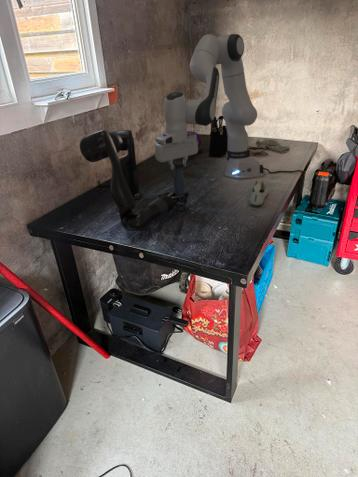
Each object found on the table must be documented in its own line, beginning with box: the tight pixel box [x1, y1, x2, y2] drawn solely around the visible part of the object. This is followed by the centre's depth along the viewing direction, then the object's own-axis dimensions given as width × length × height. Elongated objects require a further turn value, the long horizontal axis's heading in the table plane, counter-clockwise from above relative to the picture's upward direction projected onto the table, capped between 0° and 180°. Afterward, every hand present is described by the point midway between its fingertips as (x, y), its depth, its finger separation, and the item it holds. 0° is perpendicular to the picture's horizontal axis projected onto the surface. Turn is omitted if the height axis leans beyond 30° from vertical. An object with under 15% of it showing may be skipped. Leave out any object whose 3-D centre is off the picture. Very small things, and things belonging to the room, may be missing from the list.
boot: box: [209, 115, 219, 139], centre depth 247 cm, size 9×24×20 cm, turn 168°
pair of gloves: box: [247, 138, 291, 157], centre depth 228 cm, size 30×26×5 cm
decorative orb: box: [187, 130, 202, 150], centre depth 230 cm, size 15×15×15 cm
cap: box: [172, 161, 184, 170], centre depth 143 cm, size 4×4×2 cm
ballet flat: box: [249, 179, 269, 207], centre depth 158 cm, size 8×24×8 cm, turn 163°
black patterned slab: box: [208, 115, 228, 158], centre depth 222 cm, size 21×9×25 cm, turn 148°
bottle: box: [173, 168, 186, 212], centre depth 148 cm, size 4×4×21 cm
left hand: (182, 193), depth 152 cm, fingers closed on bottle, 4 cm apart
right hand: (178, 167), depth 144 cm, fingers closed on cap, 4 cm apart
